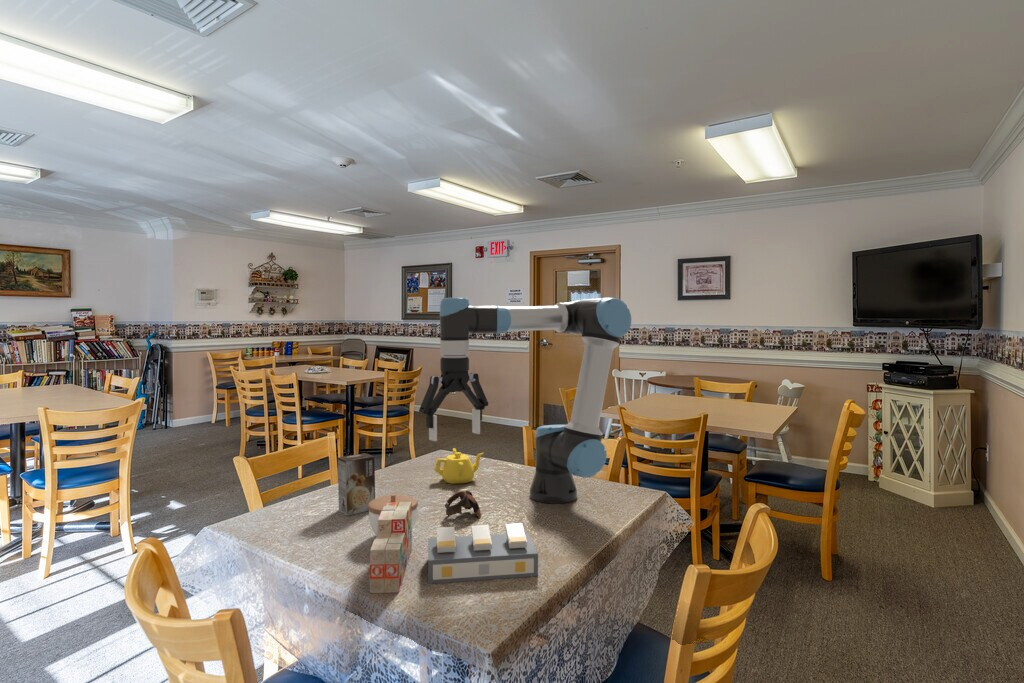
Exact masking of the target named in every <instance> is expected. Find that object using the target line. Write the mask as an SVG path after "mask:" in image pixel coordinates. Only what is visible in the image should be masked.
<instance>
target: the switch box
mask: <svg viewBox="0 0 1024 683" xmlns="http://www.w3.org/2000/svg"><path fill="white" fill-rule="evenodd" d="M525 535H526V539H527V547H524V548H509V544H508V540H507V535H506V533H500V534H499V533H497V534H490V536H491V542H492V550H475V551H474V548H473V540H472V535H465V536H464V535H463V536H455V543H456V552H443V553H437V537H429V538H427V565H428V566H427V584H442V583H454V582H467V581H482V580H497V579H513V578H526V577H527V578H528V577H538V576H539V553H538V551H537V548H536V546H535V544H534V543H533V542H534V541H533V540H532V537H531V535H530V533H529V532H525Z"/></svg>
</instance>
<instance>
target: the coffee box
mask: <svg viewBox="0 0 1024 683" xmlns="http://www.w3.org/2000/svg"><path fill="white" fill-rule="evenodd" d="M375 467H376V465H375V456H373V455H371V454H370V453H366V452H363V453H359V454H352V455H351V454H350V455H344V456H340V457H339V456H338V457H337V480H338V482H337V483H338V485H337V486H338V487H337V488H338V489H337V490H338V491H337V492H338V511H339V512H341V513H342V514H343V515H344V516H346V517H348V515H349V516H351V515H356V514H361V513H364V512H369V509H368V504H369V502H370V501H372V500H373V499H376V478H375V477H376V476H375V475H376V471H375V470H376V469H375Z"/></svg>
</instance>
